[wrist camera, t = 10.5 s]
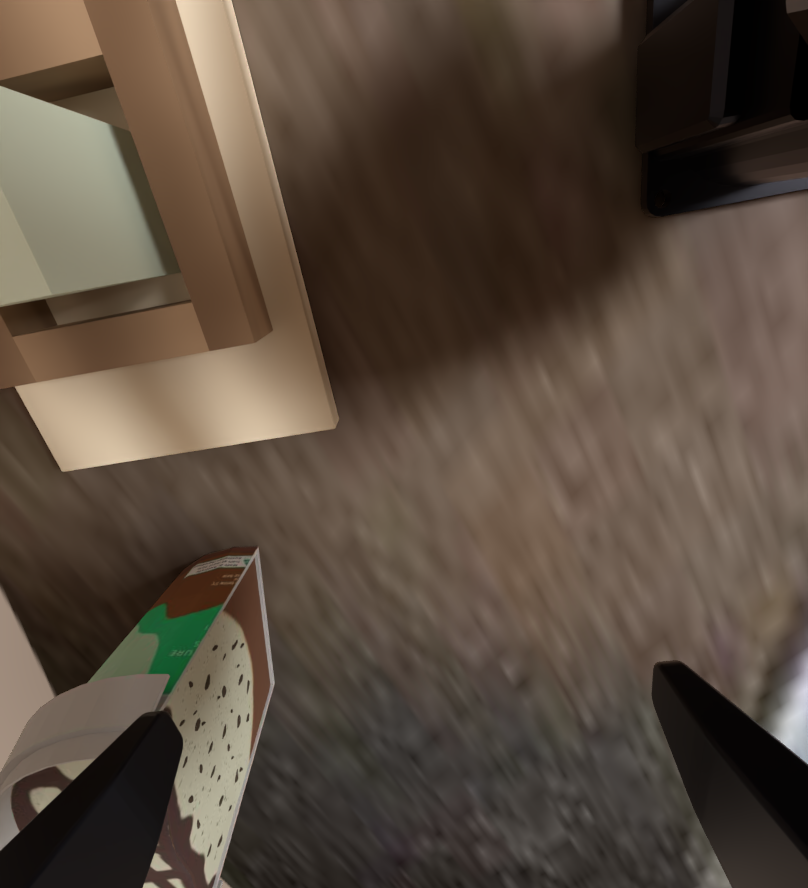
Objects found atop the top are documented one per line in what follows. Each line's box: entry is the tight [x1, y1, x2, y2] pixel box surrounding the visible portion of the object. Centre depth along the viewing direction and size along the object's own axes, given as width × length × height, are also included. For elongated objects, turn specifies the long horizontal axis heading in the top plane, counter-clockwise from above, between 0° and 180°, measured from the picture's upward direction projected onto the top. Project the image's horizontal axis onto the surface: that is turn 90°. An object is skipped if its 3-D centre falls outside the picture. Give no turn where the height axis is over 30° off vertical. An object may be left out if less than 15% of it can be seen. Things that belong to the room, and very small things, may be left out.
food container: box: [0, 546, 275, 888], centre depth 19 cm, size 12×6×10 cm, turn 178°
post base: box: [0, 0, 339, 472], centre depth 14 cm, size 12×17×3 cm
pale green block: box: [0, 86, 181, 307], centre depth 12 cm, size 4×4×6 cm
